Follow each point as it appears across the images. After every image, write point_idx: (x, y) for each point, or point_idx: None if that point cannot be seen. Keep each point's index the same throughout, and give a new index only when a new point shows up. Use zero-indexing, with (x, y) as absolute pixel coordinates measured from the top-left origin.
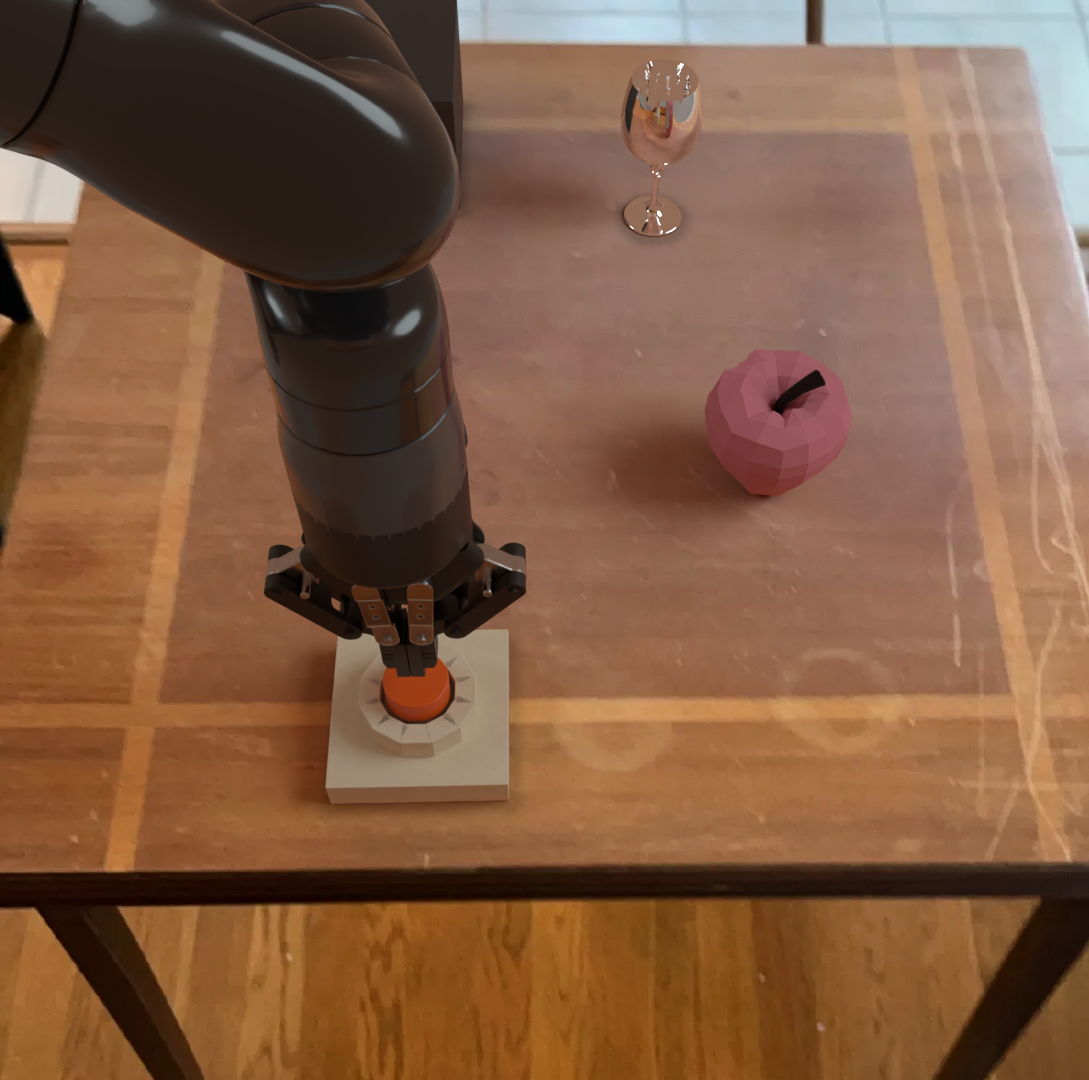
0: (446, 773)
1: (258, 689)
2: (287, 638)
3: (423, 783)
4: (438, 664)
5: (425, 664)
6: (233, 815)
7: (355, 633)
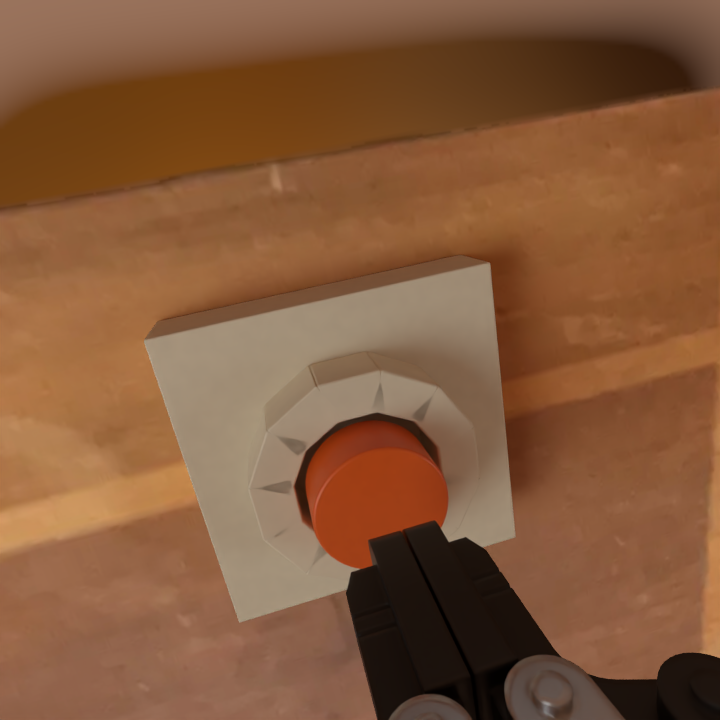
0: (275, 337)
1: (593, 415)
2: (565, 498)
3: (314, 307)
4: (343, 553)
5: (376, 578)
6: (602, 207)
7: (697, 706)
